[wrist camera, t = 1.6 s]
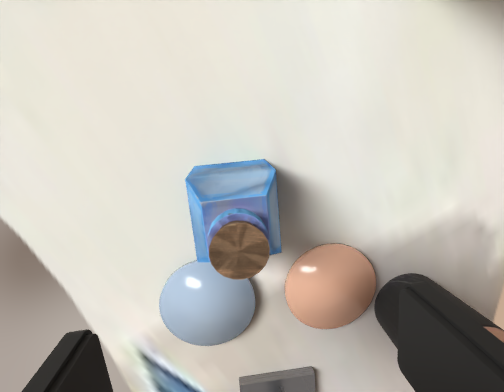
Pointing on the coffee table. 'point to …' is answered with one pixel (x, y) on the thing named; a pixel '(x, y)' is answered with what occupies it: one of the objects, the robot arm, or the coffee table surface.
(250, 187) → the perfume bottle
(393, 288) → the travel mug
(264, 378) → the balance
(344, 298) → the peach glossy round dome
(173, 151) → the coffee table surface
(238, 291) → the pale blue dome
